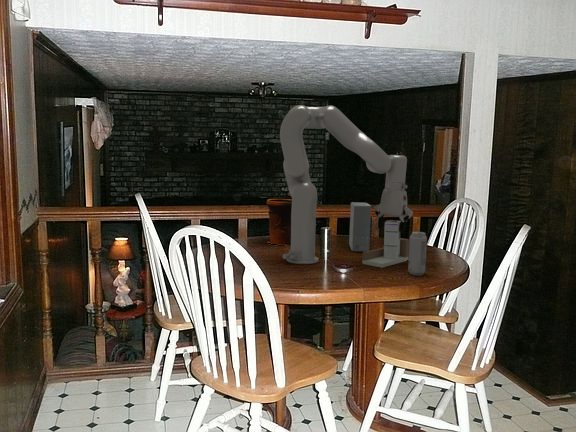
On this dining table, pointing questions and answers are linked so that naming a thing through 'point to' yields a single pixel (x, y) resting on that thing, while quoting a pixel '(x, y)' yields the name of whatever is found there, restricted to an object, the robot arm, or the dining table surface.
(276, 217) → the vessel
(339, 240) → the dining table surface
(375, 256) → the shelf
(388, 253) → the syrup box
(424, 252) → the energy drink can
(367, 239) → the hard drive box
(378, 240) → the dining table surface
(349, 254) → the dining table surface
